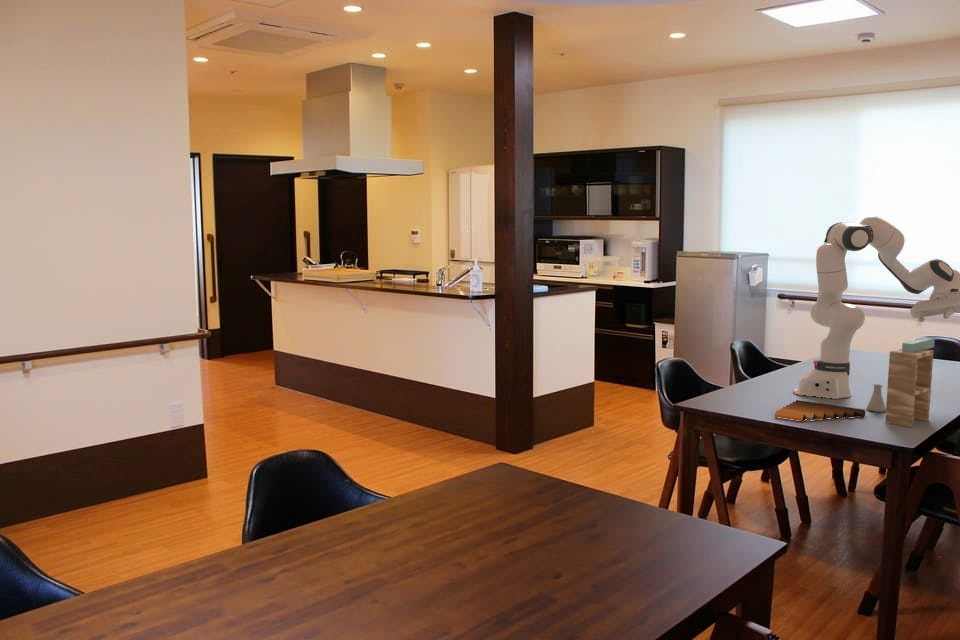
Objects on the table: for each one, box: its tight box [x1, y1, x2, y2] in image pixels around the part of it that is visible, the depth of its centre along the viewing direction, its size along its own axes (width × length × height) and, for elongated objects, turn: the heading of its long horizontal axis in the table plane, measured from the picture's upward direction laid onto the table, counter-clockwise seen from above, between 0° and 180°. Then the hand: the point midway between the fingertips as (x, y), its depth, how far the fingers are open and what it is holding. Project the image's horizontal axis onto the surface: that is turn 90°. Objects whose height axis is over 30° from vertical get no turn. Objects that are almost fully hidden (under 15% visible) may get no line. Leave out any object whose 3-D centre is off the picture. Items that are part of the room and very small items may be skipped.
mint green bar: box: [901, 337, 936, 353], centre depth 289 cm, size 20×3×3 cm, turn 130°
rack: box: [884, 348, 935, 428], centre depth 287 cm, size 15×9×26 cm, turn 130°
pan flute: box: [774, 399, 866, 422], centre depth 295 cm, size 25×3×25 cm
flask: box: [865, 383, 886, 413], centre depth 305 cm, size 7×7×10 cm
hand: (933, 318), depth 314 cm, fingers open, 8 cm apart
